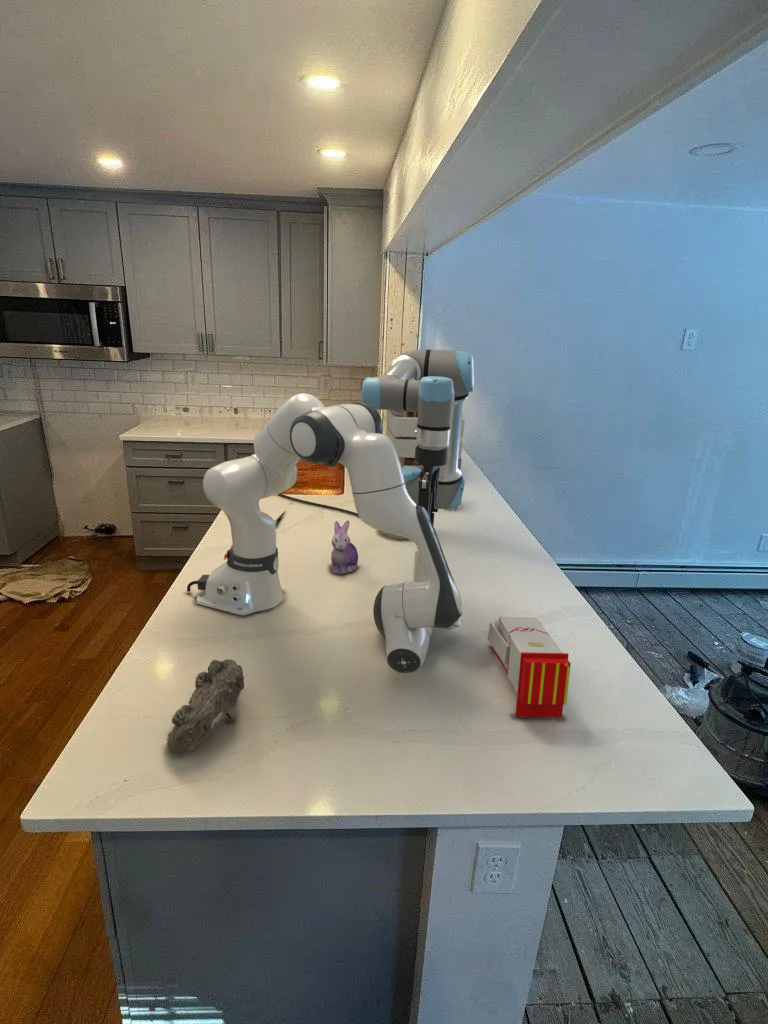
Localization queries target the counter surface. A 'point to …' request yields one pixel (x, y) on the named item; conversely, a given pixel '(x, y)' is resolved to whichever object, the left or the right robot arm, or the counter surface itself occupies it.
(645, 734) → the counter surface
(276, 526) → the feather
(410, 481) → the right robot arm
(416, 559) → the bottle
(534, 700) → the toy
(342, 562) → the figurine
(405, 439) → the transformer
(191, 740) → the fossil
